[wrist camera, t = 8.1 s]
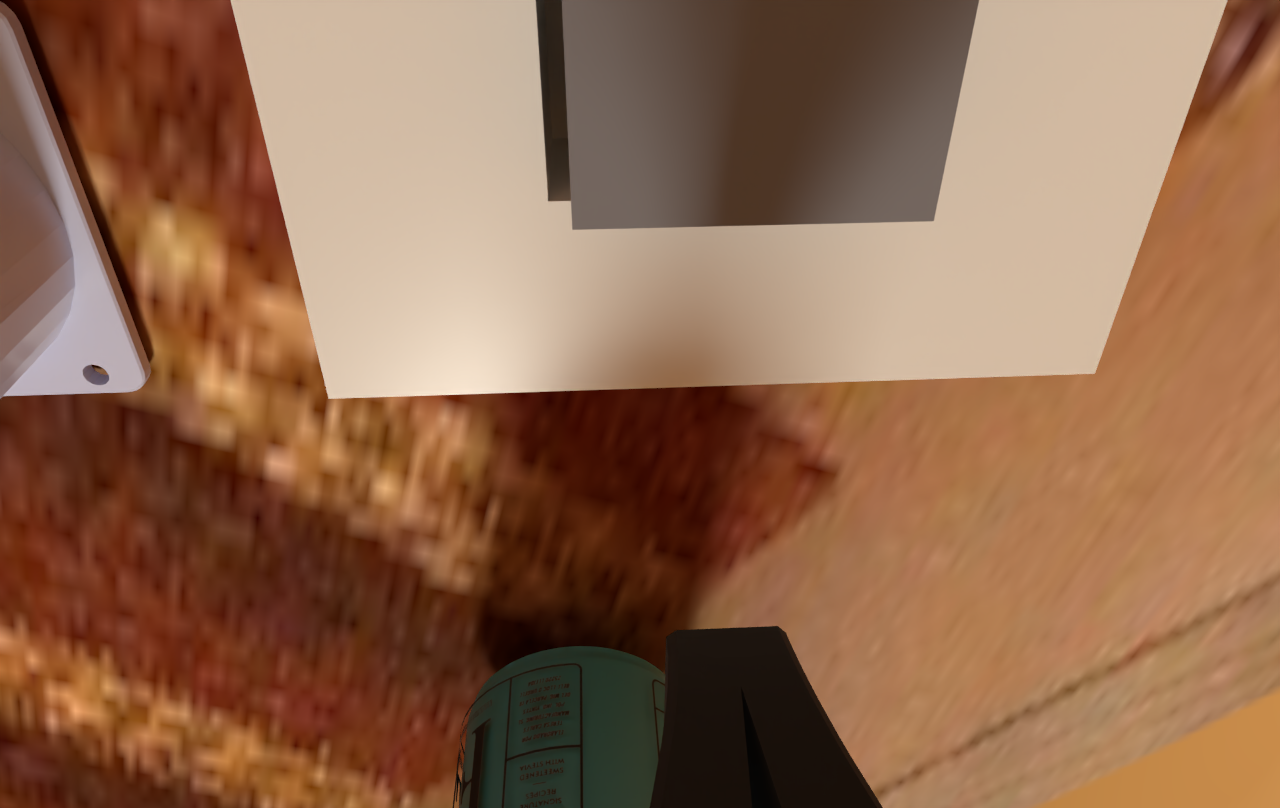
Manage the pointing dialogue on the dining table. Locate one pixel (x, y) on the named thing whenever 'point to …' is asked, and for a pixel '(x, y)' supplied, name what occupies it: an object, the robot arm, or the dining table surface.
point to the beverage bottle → (565, 732)
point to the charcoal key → (760, 110)
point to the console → (699, 256)
